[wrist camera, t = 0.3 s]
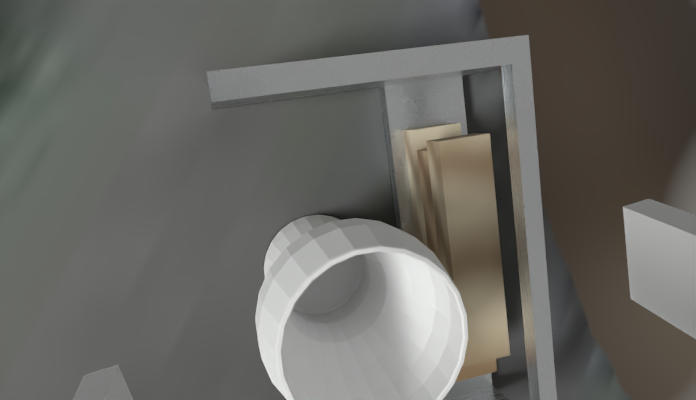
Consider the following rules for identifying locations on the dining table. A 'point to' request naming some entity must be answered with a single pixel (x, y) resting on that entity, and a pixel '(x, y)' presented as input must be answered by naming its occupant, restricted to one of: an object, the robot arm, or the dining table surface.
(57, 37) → the dining table surface
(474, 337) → the offcut bundle
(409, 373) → the cup
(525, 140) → the grey open storage bin
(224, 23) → the dining table surface
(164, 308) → the dining table surface
